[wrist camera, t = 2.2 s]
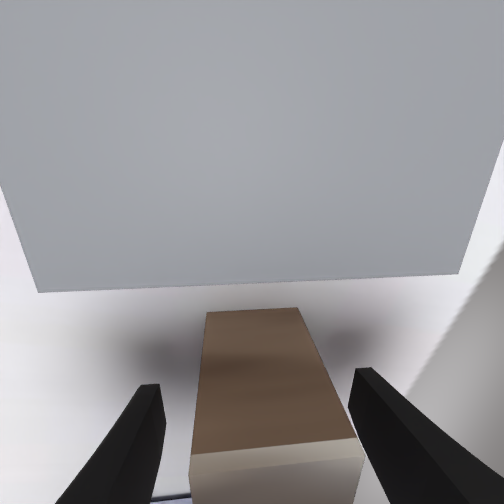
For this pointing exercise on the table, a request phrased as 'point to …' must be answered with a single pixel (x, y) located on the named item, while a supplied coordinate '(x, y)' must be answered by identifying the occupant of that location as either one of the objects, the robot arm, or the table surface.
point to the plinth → (246, 138)
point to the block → (269, 416)
